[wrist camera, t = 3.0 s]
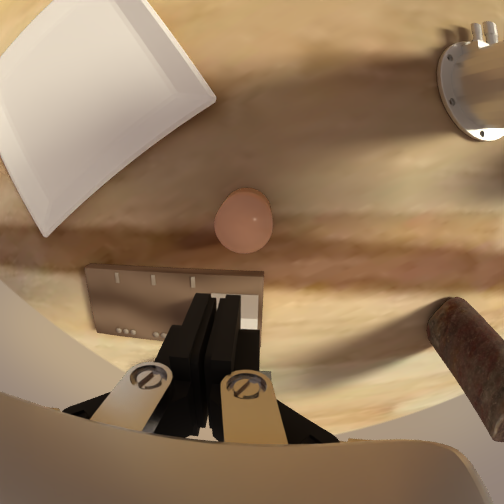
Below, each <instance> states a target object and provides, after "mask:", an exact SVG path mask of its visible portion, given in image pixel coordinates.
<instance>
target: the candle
mask: <svg viewBox="0 0 504 504" xmlns="http://www.w3.org/2000/svg"><path fill="white" fill-rule="evenodd" d="M427 334H428V339H429V341H430V342H431V344H432V345H433V347H434V348H435V350H436V351H437V353H438V354H439V356H440V357H441V358H442V360H443V361H444V363H445V364H446V366H447V367H448V368H449V370H450V371H451V373H452V374H453V376H454V377H455V379H456V380H457V382H458V383H459V385H460V386H461V388H462V389H463V391H464V393H465V394H466V396H467V397H468V399H469V400H470V402H471V404H472V405H473V407H474V409H475V410H476V412H477V413H478V415H479V417H480V418H481V420H482V422H483V423H484V425H485V427H486V429H487V430H488V432H489V434H490V436H491V437H492V439H493V440H494V441H498V442H504V340H503V339H502V338H501V337H500V336H499V335H498V333H497V332H496V331H495V330H494V329H493V328H492V327H491V326H490V325H489V324H488V323H487V322H486V321H485V319H484V318H483V317H482V316H481V315H480V314H479V313H478V312H477V311H476V310H475V309H474V308H473V307H472V306H471V305H470V304H469V303H468V302H467V301H465V300H464V299H462V298H459V297H455V298H451V299H449V300H448V301H446V302H445V303H444V304H443V305H442V306H441V308H439V309H438V310H437V311H436V312H435V313H434V315H433V316H432V317H431V319H430V320H429V322H428V327H427Z"/></svg>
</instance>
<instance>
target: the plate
mask: <svg viewBox="0 0 504 504" xmlns="http://www.w3.org/2000/svg"><path fill="white" fill-rule="evenodd" d="M215 101H216V96H215V94H214V93H213V91H212V90H211V88H210V87H209V85H208V84H207V83H206V81H205V80H204V78H203V77H202V75H201V74H200V72H199V71H198V70H197V68H196V67H195V65H194V64H193V62H192V61H191V60H190V58H189V57H188V55H187V54H186V53H185V51H184V50H183V48H182V47H181V46H180V44H179V43H178V42H177V40H176V39H175V37H174V36H173V35H172V33H171V32H170V31H169V29H168V28H167V27H166V25H165V24H164V22H163V21H162V20H161V18H160V17H159V16H158V14H157V13H156V12H155V11H154V9H153V8H152V7H151V5H150V4H149V3H148V1H147V0H53V1H52V2H51V3H50V4H49V5H48V6H47V7H46V8H45V9H44V10H43V11H42V12H40V13H39V14H38V15H37V16H36V17H35V18H34V20H33V21H32V22H31V23H30V24H29V25H28V26H27V27H26V28H25V29H24V30H23V31H22V32H21V33H20V34H19V36H18V37H17V38H16V39H15V40H14V41H13V42H12V43H11V45H10V46H9V47H8V48H7V49H6V51H5V52H4V53H3V54H2V55H1V57H0V156H1V158H2V160H3V162H4V165H5V167H6V169H7V171H8V173H9V175H10V177H11V179H12V181H13V183H14V185H15V187H16V189H17V191H18V193H19V194H20V196H21V198H22V200H23V202H24V204H25V206H26V207H27V209H28V211H29V213H30V214H31V216H32V218H33V220H34V221H35V223H36V225H37V226H38V228H39V230H40V231H41V233H42V235H43V236H44V237H48V236H49V235H50V234H51V233H52V232H53V231H54V230H55V229H56V228H57V227H58V226H59V225H60V224H61V223H62V222H63V221H64V220H65V219H66V218H67V217H68V216H69V215H70V214H71V213H72V212H73V211H75V210H76V209H77V208H78V207H79V206H80V205H81V204H82V203H83V202H84V201H85V200H87V199H88V198H89V197H90V196H91V195H92V194H93V193H94V192H96V191H97V190H98V189H99V188H100V187H101V186H103V185H104V184H105V183H106V182H107V181H108V180H110V179H111V178H112V177H113V176H114V175H116V174H117V173H118V172H119V171H121V170H122V169H123V168H124V167H125V166H127V165H128V164H129V163H130V162H132V161H133V160H134V159H136V158H137V157H138V156H139V155H141V154H142V153H143V152H145V151H146V150H147V149H149V148H150V147H151V146H153V145H154V144H155V143H157V142H158V141H159V140H161V139H162V138H163V137H165V136H166V135H168V134H169V133H170V132H172V131H173V130H175V129H176V128H177V127H179V126H180V125H182V124H183V123H185V122H186V121H188V120H189V119H191V118H192V117H194V116H195V115H197V114H198V113H200V112H201V111H203V110H204V109H206V108H207V107H209V106H210V105H212V104H213V103H215Z"/></svg>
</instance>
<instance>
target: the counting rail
mask: <svg viewBox="0 0 504 504" xmlns="http://www.w3.org/2000/svg"><path fill="white" fill-rule="evenodd" d="M84 269H85V275H86V281H87V287H88V292H89V297H90V303H91V308H92V312H93V317H94V322H95V326H96V330H97V333H103V334H110V335H117V336H125V337H133V338H141V339H150V340H159V341H164V340H165V338H166V336H167V333H168V331H169V329H170V327H171V326H172V325H182V323H183V321H184V319H185V316H186V314H187V312H188V309H189V307H190V305H191V303H192V300H193V298H194V296H195V294H196V293H208V294H211V293H218V294H240V295H258V326H257V330H260V347H261V329H262V308H263V286H264V271H236V270H211V269H188V268H166V267H146V266H127V265H109V264H91V263H90V264H89V265H87V266H86V267H85V268H84Z"/></svg>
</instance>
